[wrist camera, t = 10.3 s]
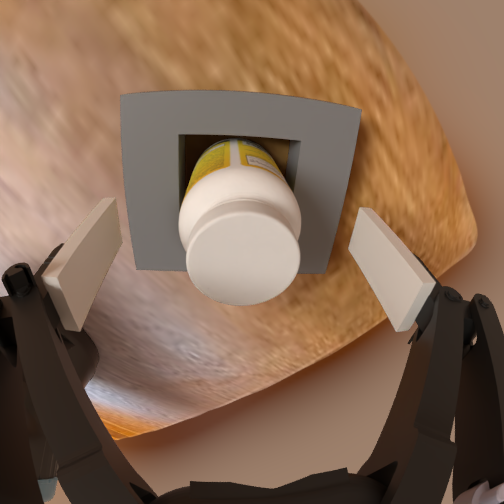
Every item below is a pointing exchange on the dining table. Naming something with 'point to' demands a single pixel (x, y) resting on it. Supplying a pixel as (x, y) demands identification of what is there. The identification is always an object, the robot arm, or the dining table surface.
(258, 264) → the pill bottle
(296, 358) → the dining table surface
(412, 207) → the dining table surface
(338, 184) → the bottle holder
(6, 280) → the robot arm
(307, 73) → the dining table surface
